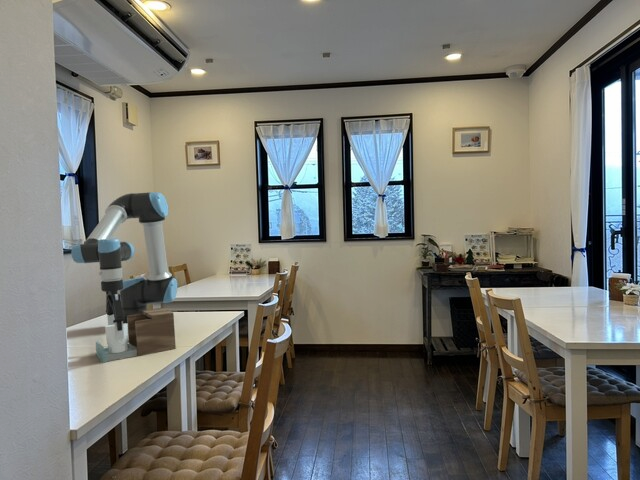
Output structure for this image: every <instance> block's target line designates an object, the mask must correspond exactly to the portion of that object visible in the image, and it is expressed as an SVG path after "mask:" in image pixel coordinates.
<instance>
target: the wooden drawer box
mask: <svg viewBox="0 0 640 480" xmlns="http://www.w3.org/2000/svg"><path fill="white" fill-rule="evenodd" d="M142 312H143V314H136V315H130V316H127V323H128V344H129V343H130V344H131V345H132V346H135V347H136V348H137V357H142V356H145V355H151V354H156V353H161V352H166V351H172V350H175V349H177V347H176V333H175V316H174V315H175V314H174V312H173V311H171V310H168V309H166V308H164V307H158V308H156V307H155V308H150V309H147V310H143V311H142Z"/></svg>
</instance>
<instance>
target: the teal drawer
mask: <svg viewBox="0 0 640 480" xmlns="http://www.w3.org/2000/svg"><path fill="white" fill-rule="evenodd" d="M95 348H96V349H95V351H96V356H97V357H98V358H99V359H100V361H101V362H102V364H105V363H107V362H111V361H115V360H121V359H125V358H130V357H136V356H137V347H135V346H132V345H131V344H130V343H129V342H128V350H127V351H124V352H120V353H111V354H110V353H108V346H107V347H104V346H103V345H102V344H101V343H100V342H99V341H95ZM137 357H138V356H137Z"/></svg>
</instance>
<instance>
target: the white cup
mask: <svg viewBox="0 0 640 480" xmlns="http://www.w3.org/2000/svg"><path fill="white" fill-rule="evenodd" d="M123 331H124V339H118V340H116V336H115V325H109V326H108V325H105V326H104V332H105V339H106V345H107V347H108V353H110V354H111V353H120V352H124V351H127V350H128V344H129V339H128V323H123Z"/></svg>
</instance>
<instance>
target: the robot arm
mask: <svg viewBox="0 0 640 480" xmlns="http://www.w3.org/2000/svg"><path fill="white" fill-rule="evenodd" d="M104 211H105V212H104V214H105V215H103V216H102V218H101V219H100V221H99V222H98V224H97V225H96V226H95V228H94V229H93V230H92V232H91V233H90V234H89V236H88V237H87V238H86V239H85V240H84V243H77V244H74V245H73V246H72V248H71V251H70V252H71V254H70V255H71V258H72V260H73V262H74V263H76V264H90V263H99V272H98V275H100V280H101V282H100V287H101V291H102V292H104V293H106V294H105V297H106V298H105V301H106V302H105V313H106V316H107V317H106V318H107V326H109V325H115V336H116V340H118V339H124V331H123V323H127V316H130V315H136V314H143V312H142V311H143V310H148V304H150V305H151V304H166V303H172V302H174V301H175V299H176V297H177V294H178V280H177V279H176V278H175V277H173V274H172V273H171V272H170V271H169V268H168V267H169V266H168V259H167V251H166V243H165V235H164V227H163V223H164V222H165V220H166V217H167V216H168V215H169V207H168V202H167V200H166V197H165V195H164V194H162V193H161V192H157V191H155V192H154V191H153V192H152V191H149V192H138V193H137V192H135V193H134V192H133V193H132V192H131V193H126V194H124V195H120V196H119V197H117V198H116V199H115V200H113V201H112V202H111V203H110V204H109V205H108V206H107V207H106V209H105V210H104ZM129 219H138V223H139V224H140V225H141V226H142V228H143V234H144V235H143V236H144V242H145V243H144V244H145V249H146V257H147V264H148V271H149V274H148V275H147V277H145V276H140V277H134V278H130V279H125V280H123V279H122V278H124V276H123V268H122V267H123V266H122V262H126V261H128V260H130V259H131V258H133V257H134V255H135V251H136V249H135V248H134V245H133V244H132V242H131V243H130V242H129V241H120V240H119V238H118V237H117V238H113V236H114V234H116V232H117V230H118V229H119V227H120V226H121V224H124V223H125V222H126V221H127V220H129ZM118 291H119V292H118Z"/></svg>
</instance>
